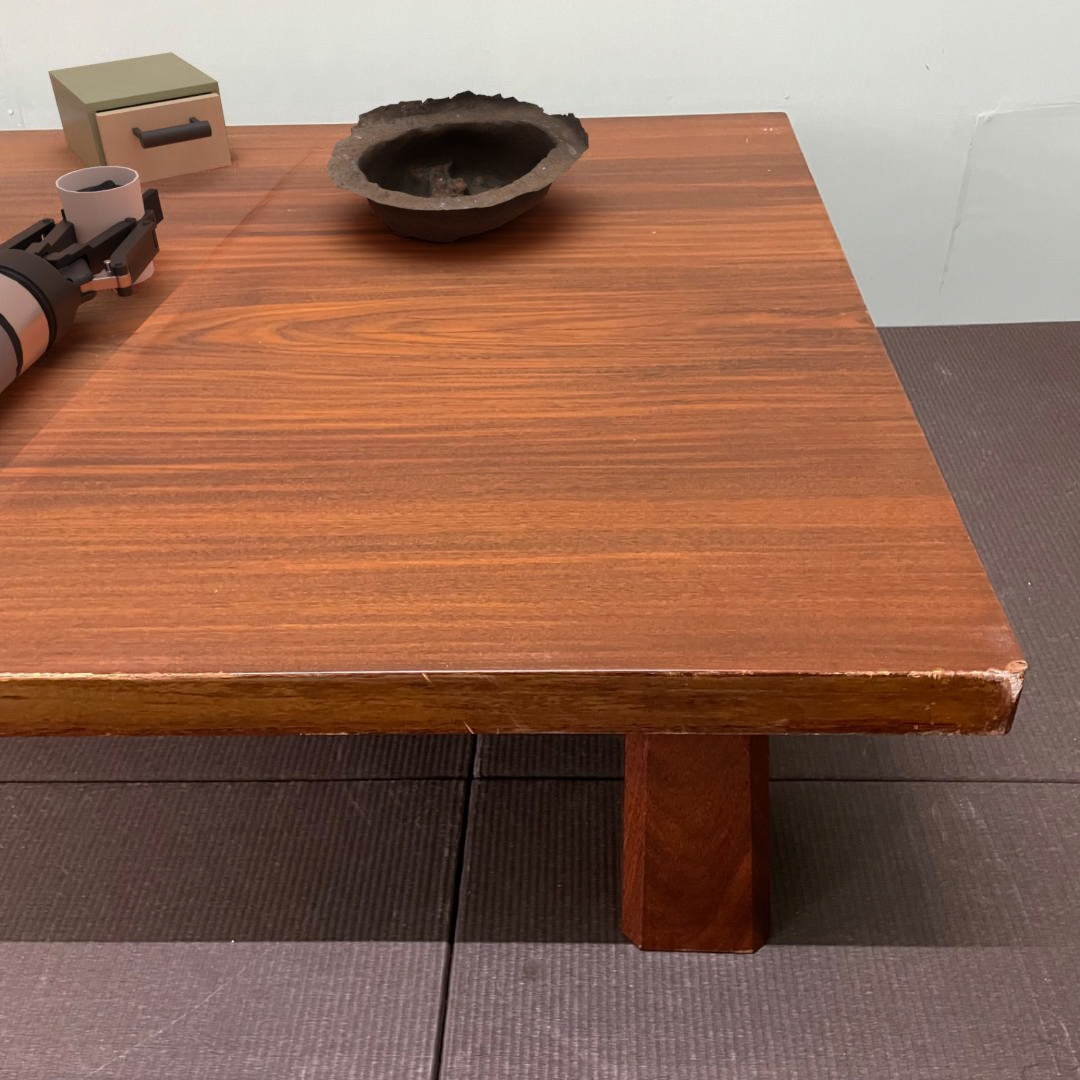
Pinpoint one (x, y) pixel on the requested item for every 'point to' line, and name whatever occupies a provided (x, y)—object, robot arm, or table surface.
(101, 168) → the drinking glass
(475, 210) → the stone bowl
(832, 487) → the table surface
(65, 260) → the robot arm
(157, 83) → the cabinet
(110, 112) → the drawer
